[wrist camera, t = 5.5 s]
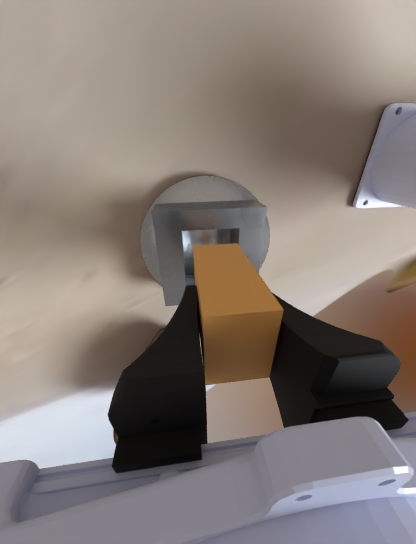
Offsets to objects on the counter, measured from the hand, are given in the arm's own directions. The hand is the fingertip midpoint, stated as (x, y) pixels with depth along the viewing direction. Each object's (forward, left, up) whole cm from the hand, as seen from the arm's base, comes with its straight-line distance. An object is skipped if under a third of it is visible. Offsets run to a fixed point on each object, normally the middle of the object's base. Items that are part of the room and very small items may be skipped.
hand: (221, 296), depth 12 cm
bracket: (0, 0, -9) cm, 9 cm away
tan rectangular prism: (0, -1, -2) cm, 3 cm away
